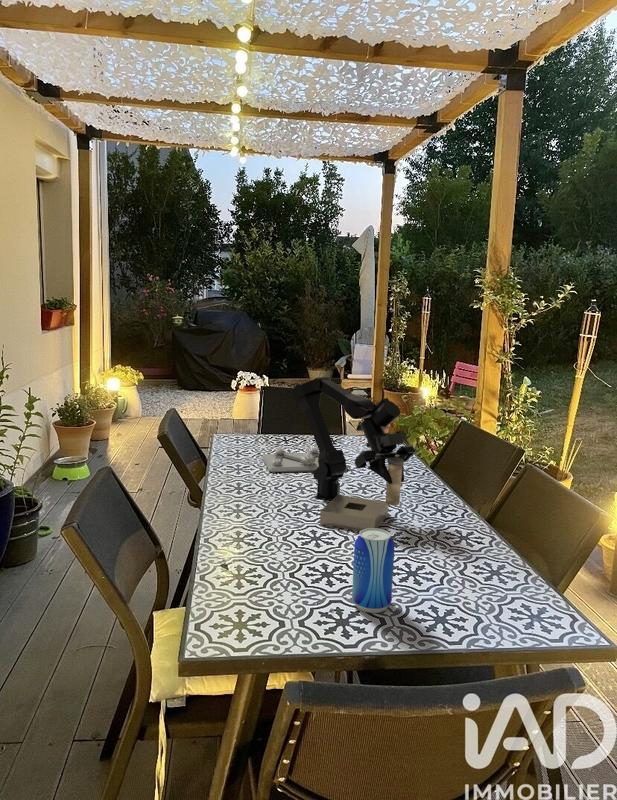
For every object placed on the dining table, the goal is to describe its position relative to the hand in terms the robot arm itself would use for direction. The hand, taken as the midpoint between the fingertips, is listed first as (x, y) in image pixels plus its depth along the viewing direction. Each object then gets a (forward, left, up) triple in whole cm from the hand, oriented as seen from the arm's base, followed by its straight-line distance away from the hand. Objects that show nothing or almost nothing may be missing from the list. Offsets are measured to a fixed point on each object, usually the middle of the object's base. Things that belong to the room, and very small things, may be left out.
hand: (397, 482), depth 179 cm
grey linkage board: (-47, +49, -14) cm, 69 cm away
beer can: (+6, -48, -13) cm, 50 cm away
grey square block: (-12, 0, -13) cm, 18 cm away
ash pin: (-1, +1, -7) cm, 7 cm away
